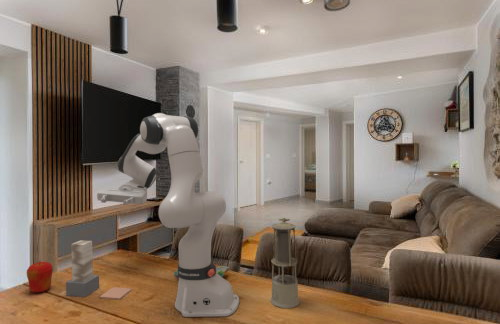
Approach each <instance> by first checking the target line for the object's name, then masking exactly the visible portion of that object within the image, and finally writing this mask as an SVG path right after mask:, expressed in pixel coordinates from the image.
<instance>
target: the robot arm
mask: <svg viewBox="0 0 500 324" xmlns="http://www.w3.org/2000/svg"><path fill="white" fill-rule="evenodd" d="M198 135H199V124H198V123H197V121H196V119H194V118H193V117H191V116H185V115H184V116H179V115H170V114H169V115H168V114H165V113H163V112H157V113H154V114H152V115H149V116H146V117H143V119H142V120H141V122H140V126H139V133H137V134H136V135H135V136H134V137H133V138H132V139H131V141H130V142H129V143H128V145H127V147H126V149H125V151H124V152H123V154H122V155H121V156H120V157H119V160H118V161H117V169H118V171H119V172H121V173H122V174H124V175H127V176H128V177H130V178H131V180H129V181H127V182H125V183H124V184H122V185H120V186H118V188H114V189H113V188H105V189H102V190H99V191H97V192H96V194H97V195H96V197H97V198H96V199H97V200H98V201H100V203H102V204H103V203H107V202H115V203H123V205H129V204H133V205H134V204H137V205H144V204H145V203H146V202H147V199H148V189H149V188H150V187H152V185H153V184H154V182H155V181H156V180H157V176H158V171H157V169H156V167H155V166H154V165H151V164H150V163H148V162H146V161H145V160H143V159H141V158H140V157H139V156H137V155H136V154H137V152H138V151H139V152H143V153H146V154H149V155H157V154H160V153H162V152H164V151H165V150H166V149H167V156H168V162H169V169H170V176H171V177H170V179H171V181H170V187H169V190H168V192H167V195H166V196H165V197H164V199H162V201H161V202H160V204H159V207H158V218H159V220H160V223H162V225H163V226H165V228H169V229H183V228H187V227H189V228H188V230H187V231H186V233H185V235H183V236H182V238H181V239H179V243H178V264H177V269H176V270H177V275H178V279H177V281H178V285H177V292H176V299H175V303H174V307H175V309H176V310H177V311H179V312H180V313H181V315H182V317H185V318H189V317H190V318H193V317H194V318H195V317H197V318H199V317H201V318H202V317H229V316H231V315H232V314H234V313H235V312H236V310H237V309H238V307H239V305H240V297H239V296H238V294H235V293H234V292H233V287H232V285H231V282H229V281H228V280H226V279H225V278H223V276H222V277H221V276H220V275H218V274H217V273H216V268H217V266H218V263H215V264H214V263H213V262H212V260H211V259H212V255H211V252H212V251H211V250H212V239H213V235H214V232H215V229H216V226H217V225H218V222H219V221H220V219H221V218H222V217H223V216H224V214H225V212H226V209H227V204H226V200H225V198H224V196H223V194H221V193H220V192H216V191H207V190H206V191H200V192H195V190H196V189H195V186H196V183H197V182H198V181H199V180H200V179H201V178H202V177H203V174H204V169H203V163H202V159H201V153H200V149H199V144H198V141H197V138H198Z"/></svg>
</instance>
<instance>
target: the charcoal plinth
mask: <svg viewBox="0 0 500 324" xmlns="http://www.w3.org/2000/svg"><path fill="white" fill-rule="evenodd" d="M99 288H100V275H99V274H93V277H91V278H90V279H88V280H86V281H85V282H82V281H72V278H71V279H69V280H68V281H66V282H65V293H66V294H65V296H68V297H72V296H73V297H82V298H86V297H87V296H89V295H91V294H92V293H93V292H95V291H97V290H98V289H99Z"/></svg>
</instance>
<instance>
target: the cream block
mask: <svg viewBox="0 0 500 324" xmlns="http://www.w3.org/2000/svg"><path fill="white" fill-rule="evenodd" d="M70 245H71V247H70V248H71V273H72V274H71V276H72V277H71V279H72V281H82V282H85V281H86V280H88V279H90V278H91V277H93V275H94V264H93V263H94V262H93V261H94V260H93V259H94V258H93V256H94V255H93V241H92V240H84V239H83V240H78V241H76V242H73V243H71V244H70Z"/></svg>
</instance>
